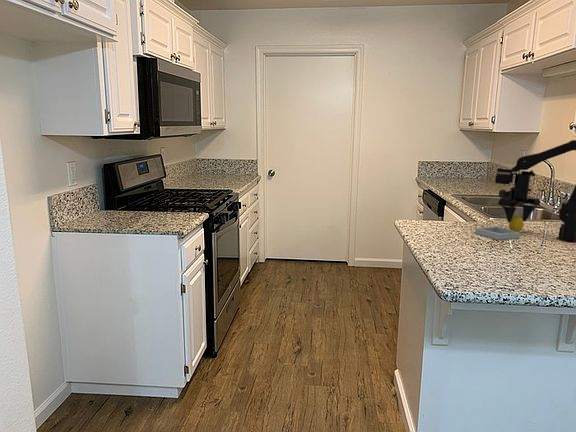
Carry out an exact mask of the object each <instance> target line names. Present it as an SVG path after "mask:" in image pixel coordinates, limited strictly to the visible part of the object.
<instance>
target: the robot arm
mask: <svg viewBox="0 0 576 432" xmlns="http://www.w3.org/2000/svg"><path fill="white" fill-rule="evenodd" d="M572 151H575V152H576V139H572V140H570V141H568V142H565V143H563V144H560V145H558V146H555V147H551V148H549V149H546V150H544V151H541V152H538V153H532V154H527V155H522V156H521V157H519V158H518V159H517V161H516V165H515V166H513V167H512V169H509V168H503V167H502V168H501V167H498V168H497V170H496V176H495V179H494V180H495V181H494V183H495V184H496V185H497V184H498V185H508V186H509V185H510V183H513V181H514V183H513V187H512V186H511V188H510V190H505V189H501V190H499V192H498V197H499V198H500V199H498V202H497V203H498V204H497V205H498V206H500V207H501V208H503V210H504V212H505V216H506V220H507V222H508V223H509V222H511V220H512V217H514V214H515V211H516V209H517V207H516V206H517V205H521V207H522V209H523V211H522V220H523V222H526V221H527V220H528V218H529V217H530V216H531V214H533V212H534V210H536V209H537V208H538V206H540V205H541V200H540V199H539V198H538V197H537V198H536V197H531V196H529V192H531V191H532V189H531V188H530V182H531V177H535V176H536V173H535V172H534V170H533V169H531V170H530V171H528V170H529V169H530V168H533V167H535V166H537V165H538V164H540V163H542V162H545V161H547V160H550V159H552V158H555V157H557V156H560V155H563V154H566V153H569V152H572ZM520 171H521V172H520ZM514 175H515V176H514ZM557 212H558V218H559V221H561V222H562V224H561V225H560V227H559V231H558V237H556V239H557V240H561V241H564V242H568V243H576V184H574V187H573V189H572V191H571V193H570V195H569V197H568V199H567V200H566V201H564V200H563V201H562V200H561V204H560V207H559V208H558V209H557Z"/></svg>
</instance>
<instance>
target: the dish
mask: <svg viewBox="0 0 576 432" xmlns="http://www.w3.org/2000/svg"><path fill="white" fill-rule="evenodd" d="M474 234H475V235H477V236H481V237H485V238H488V239H491V240H494V241H508V240H509V241H510V240H519V239H520V236H521V235H520V234H521V232H520V231H519V232H515V231H511V230H510V229H508V228H507V229H506V228H503V227H499V226H486V227H475V230H474Z"/></svg>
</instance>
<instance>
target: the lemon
mask: <svg viewBox="0 0 576 432" xmlns="http://www.w3.org/2000/svg"><path fill="white" fill-rule="evenodd" d="M523 228H524V221H523V217H521V216H519V215H517V214H515V216H514V215H513V217H512V220H511V222H508V229H509V230H511V231H515V232H519V233H520V232H521V231H522V229H523Z"/></svg>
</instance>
